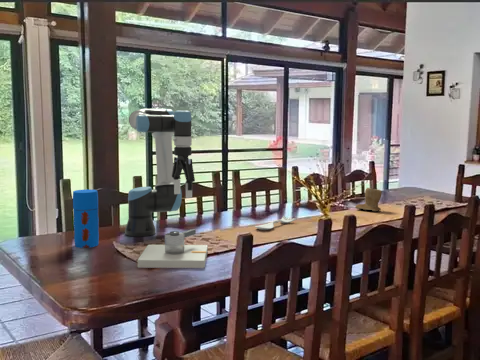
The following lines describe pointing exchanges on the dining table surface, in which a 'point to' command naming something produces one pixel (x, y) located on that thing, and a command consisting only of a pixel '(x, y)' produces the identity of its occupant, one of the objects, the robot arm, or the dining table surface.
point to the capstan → (176, 241)
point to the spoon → (271, 225)
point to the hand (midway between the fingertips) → (183, 195)
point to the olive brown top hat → (371, 200)
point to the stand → (173, 257)
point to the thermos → (86, 218)
